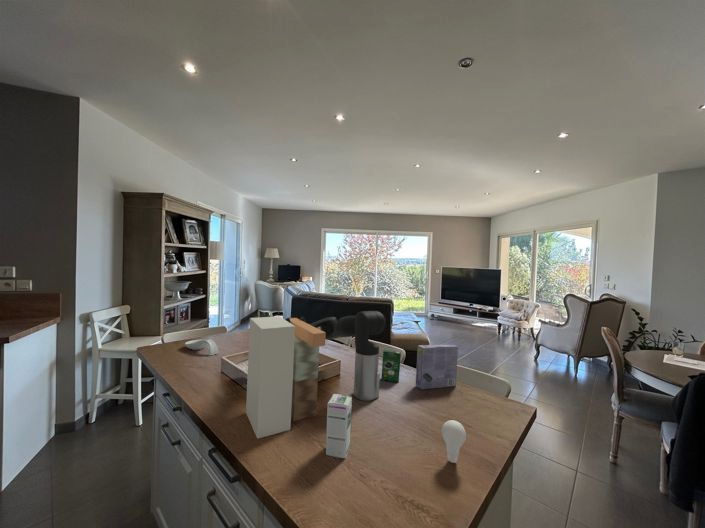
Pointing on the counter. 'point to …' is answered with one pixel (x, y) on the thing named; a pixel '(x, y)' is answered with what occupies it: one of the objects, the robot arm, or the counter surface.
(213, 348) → the spoon rest
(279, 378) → the stand
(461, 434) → the lightbulb
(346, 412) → the syrup box
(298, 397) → the tower
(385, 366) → the coffee box
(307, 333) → the bar
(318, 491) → the counter surface
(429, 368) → the cake pan box
